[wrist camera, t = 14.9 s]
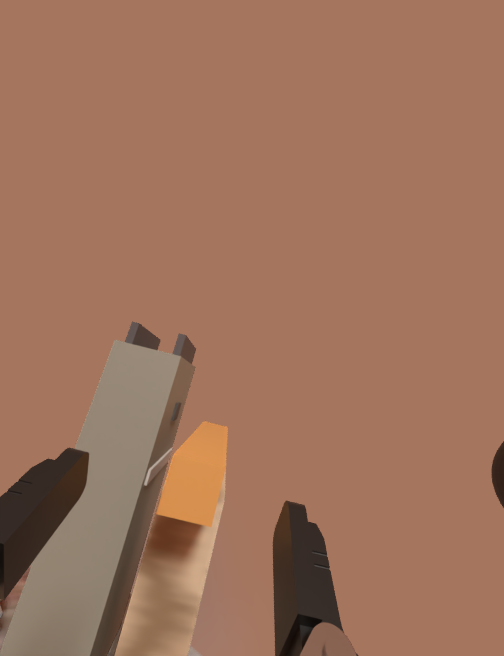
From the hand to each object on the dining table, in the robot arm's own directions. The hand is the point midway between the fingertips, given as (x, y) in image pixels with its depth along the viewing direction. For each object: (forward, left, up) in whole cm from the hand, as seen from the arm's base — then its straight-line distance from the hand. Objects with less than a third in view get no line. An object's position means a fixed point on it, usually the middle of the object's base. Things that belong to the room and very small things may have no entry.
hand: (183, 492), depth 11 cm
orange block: (0, -18, -4) cm, 19 cm away
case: (+9, -23, -25) cm, 36 cm away
